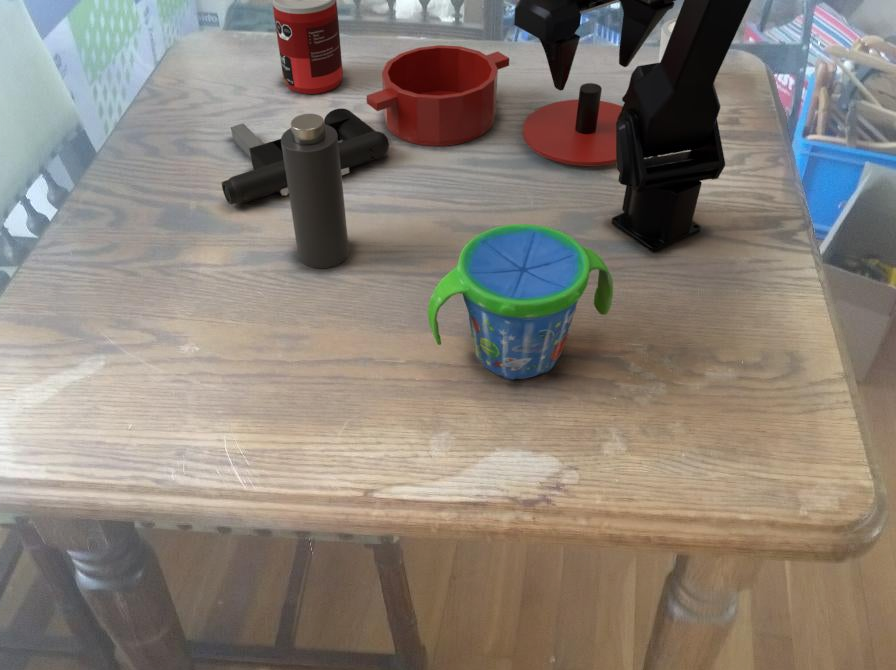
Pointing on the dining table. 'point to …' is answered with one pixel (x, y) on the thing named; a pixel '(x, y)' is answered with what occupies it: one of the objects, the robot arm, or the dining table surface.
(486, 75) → the pot
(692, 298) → the dining table surface
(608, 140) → the lid
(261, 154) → the door handle
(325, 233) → the pepper mill
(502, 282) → the snack cup
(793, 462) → the dining table surface
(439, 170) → the dining table surface
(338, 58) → the red can
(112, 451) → the dining table surface
